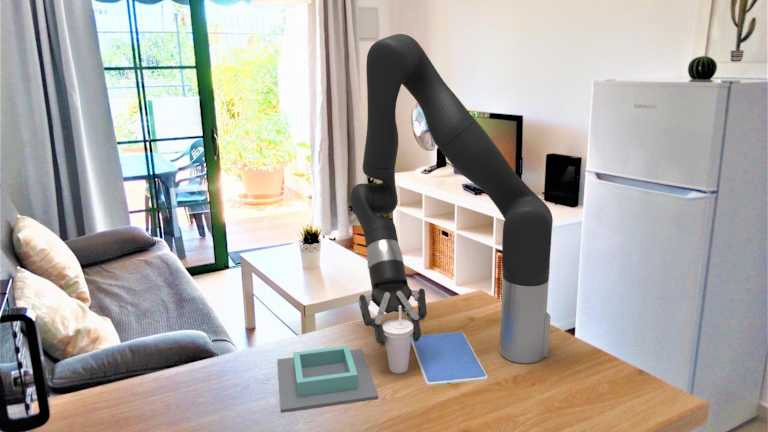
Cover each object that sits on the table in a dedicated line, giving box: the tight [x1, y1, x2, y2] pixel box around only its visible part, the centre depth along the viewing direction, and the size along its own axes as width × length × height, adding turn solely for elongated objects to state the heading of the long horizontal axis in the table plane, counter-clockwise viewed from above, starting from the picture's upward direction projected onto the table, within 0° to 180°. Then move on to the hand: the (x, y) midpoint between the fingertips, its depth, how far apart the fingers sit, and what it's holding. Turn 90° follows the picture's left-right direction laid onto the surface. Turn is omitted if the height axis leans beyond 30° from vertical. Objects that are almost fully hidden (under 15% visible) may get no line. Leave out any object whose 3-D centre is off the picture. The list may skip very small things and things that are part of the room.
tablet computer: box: [411, 331, 489, 386], centre depth 121 cm, size 19×13×1 cm, turn 8°
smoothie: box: [381, 306, 414, 374], centre depth 115 cm, size 6×6×14 cm
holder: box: [277, 345, 379, 413], centre depth 114 cm, size 18×18×4 cm
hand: (399, 342), depth 114 cm, fingers closed on smoothie, 6 cm apart
